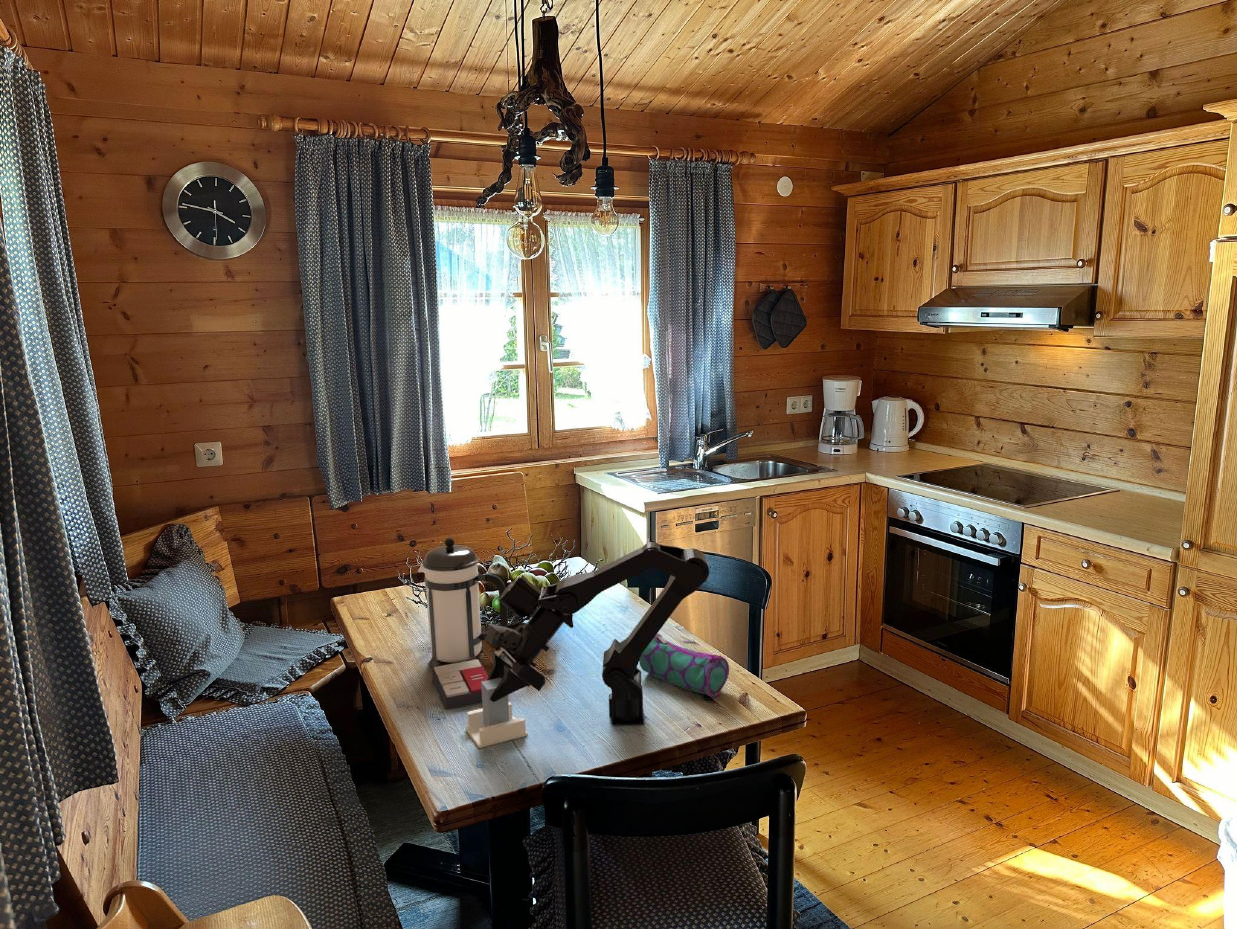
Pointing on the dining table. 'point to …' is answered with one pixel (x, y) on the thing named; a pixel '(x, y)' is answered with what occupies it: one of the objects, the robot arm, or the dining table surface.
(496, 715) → the grey rectangular prism
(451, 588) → the coffee press
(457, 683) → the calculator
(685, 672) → the pencil case
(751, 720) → the dining table surface
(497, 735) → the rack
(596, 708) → the dining table surface
